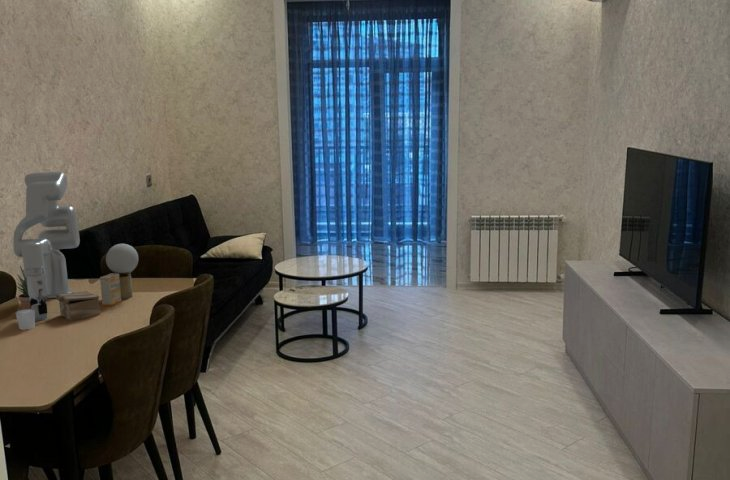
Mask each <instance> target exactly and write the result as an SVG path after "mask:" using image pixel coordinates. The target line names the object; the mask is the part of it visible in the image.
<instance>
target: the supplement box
mask: <svg viewBox="0 0 730 480" xmlns="http://www.w3.org/2000/svg"><path fill="white" fill-rule="evenodd" d="M99 281H100V292H101V293H100V294H101V303H102V306H104V307H105V306H106V307H110V306H111V307H112V306H114V305H116V304H118V303H120V302H122V300H121V291H120V280H119V274H118V273H115V272H113V273H108V274H106V275H103V276H100V277H99Z"/></svg>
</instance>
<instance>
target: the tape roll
mask: <svg viewBox="0 0 730 480" xmlns="http://www.w3.org/2000/svg"><path fill="white" fill-rule="evenodd" d="M38 305H39V304H34V305H32V306H31V309H34V310H35V322H41V321H45V320H48V318H49V317H48V312H47V313H46V314H41V315H40V314H39V310H38ZM40 320H41V321H40Z"/></svg>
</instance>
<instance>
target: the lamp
mask: <svg viewBox="0 0 730 480" xmlns="http://www.w3.org/2000/svg"><path fill="white" fill-rule="evenodd" d="M105 263H106V265H107V267H108V269H109V270H111V272H113V273H118V274H119V280H120V291H121V301H124V300H128V299H130V297H131V298H133V296H134V294H133V292H134V291H133V285H132V284H133V283H132V282H133V281H132V275H131V273H132V272H133V271H134V270H135V269H136V268H137V266H138V264H139V253H138V252H137V250H136V249H135V248H134V247H133V246H132V245H129V244H127V243H118V244H114V245H113V246H111V248H109V250H108V251H107V253H106V255H105Z"/></svg>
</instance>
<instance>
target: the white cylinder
mask: <svg viewBox="0 0 730 480" xmlns="http://www.w3.org/2000/svg"><path fill="white" fill-rule="evenodd" d="M15 316H16V320H17V325H18V329H19V330H20V329H21V331H27V330H26V329H28V330H32V329H34V328H35V327H36V321H35V310H34V309H20V310H17V311H15ZM31 328H32V329H31Z"/></svg>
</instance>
